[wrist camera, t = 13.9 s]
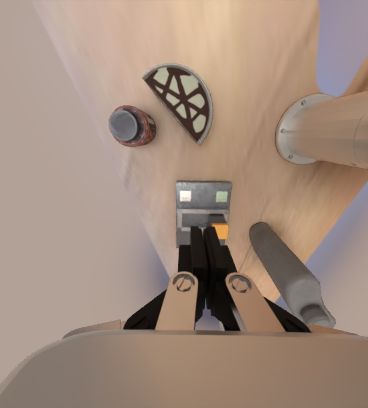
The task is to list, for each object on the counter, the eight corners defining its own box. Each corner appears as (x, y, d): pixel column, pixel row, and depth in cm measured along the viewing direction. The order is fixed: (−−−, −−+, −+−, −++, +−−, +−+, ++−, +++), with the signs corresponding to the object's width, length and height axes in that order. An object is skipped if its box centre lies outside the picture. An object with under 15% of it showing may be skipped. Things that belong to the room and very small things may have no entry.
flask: (243, 229, 42) (287, 302, 24) (265, 218, 41) (329, 286, 23) (265, 269, 47) (316, 356, 29) (285, 260, 46) (352, 345, 28)
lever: (222, 212, 39) (228, 225, 34) (221, 225, 40) (227, 239, 35) (208, 212, 39) (212, 225, 34) (207, 224, 40) (211, 238, 35)
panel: (230, 181, 38) (233, 185, 35) (222, 245, 44) (224, 251, 42) (176, 180, 38) (176, 184, 35) (176, 244, 44) (176, 250, 42)
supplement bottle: (145, 150, 36) (128, 157, 25) (121, 131, 34) (92, 129, 24) (162, 126, 34) (152, 123, 23) (137, 104, 32) (114, 90, 22)
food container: (219, 121, 33) (233, 115, 24) (196, 143, 35) (199, 146, 26) (176, 63, 30) (172, 32, 21) (152, 91, 32) (138, 73, 22)
